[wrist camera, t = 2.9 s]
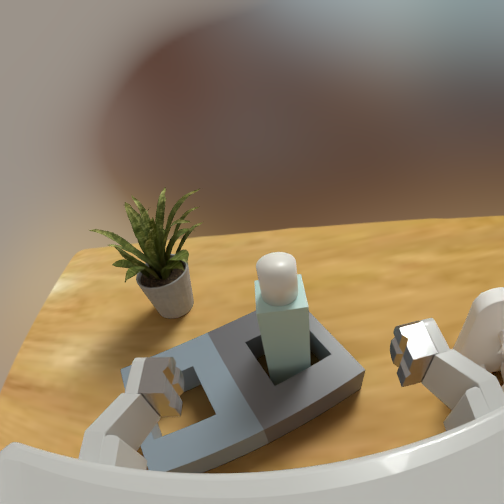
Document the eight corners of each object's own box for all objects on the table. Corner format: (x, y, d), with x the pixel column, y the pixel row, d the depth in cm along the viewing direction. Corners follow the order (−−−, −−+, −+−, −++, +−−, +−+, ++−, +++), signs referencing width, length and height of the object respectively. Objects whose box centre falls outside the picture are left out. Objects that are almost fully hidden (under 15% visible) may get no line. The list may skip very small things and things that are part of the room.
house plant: (253, 282, 44) (231, 172, 35) (200, 358, 34) (149, 238, 25) (175, 266, 50) (143, 173, 41) (119, 324, 41) (67, 225, 32)
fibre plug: (305, 350, 33) (298, 245, 25) (311, 380, 30) (306, 276, 22) (269, 355, 33) (249, 252, 25) (272, 386, 30) (250, 284, 22)
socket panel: (293, 314, 38) (291, 293, 36) (360, 388, 28) (365, 369, 26) (133, 386, 32) (120, 369, 30) (166, 485, 22) (150, 476, 20)
